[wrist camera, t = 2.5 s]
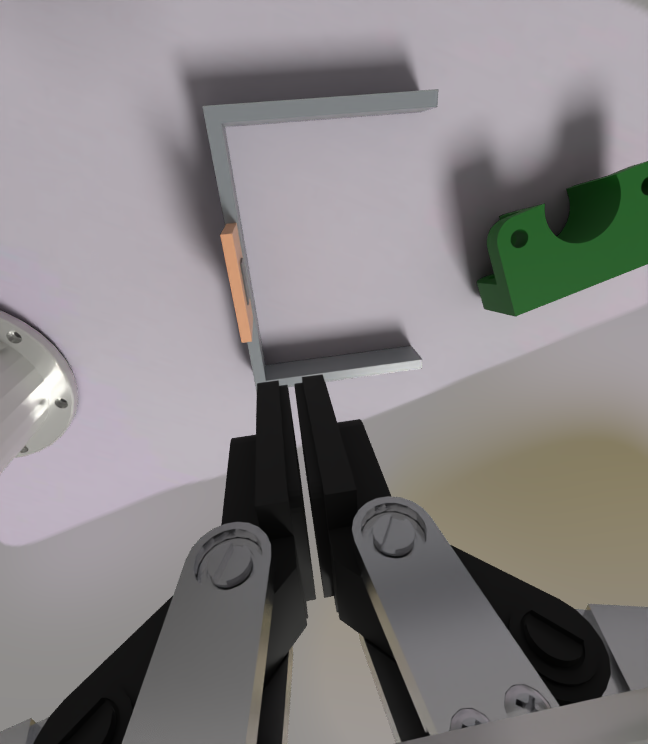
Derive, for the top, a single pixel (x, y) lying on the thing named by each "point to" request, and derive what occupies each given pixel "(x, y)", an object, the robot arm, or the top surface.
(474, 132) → the top surface
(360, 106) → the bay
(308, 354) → the top surface
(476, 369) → the top surface
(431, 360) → the top surface
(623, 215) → the clamp
